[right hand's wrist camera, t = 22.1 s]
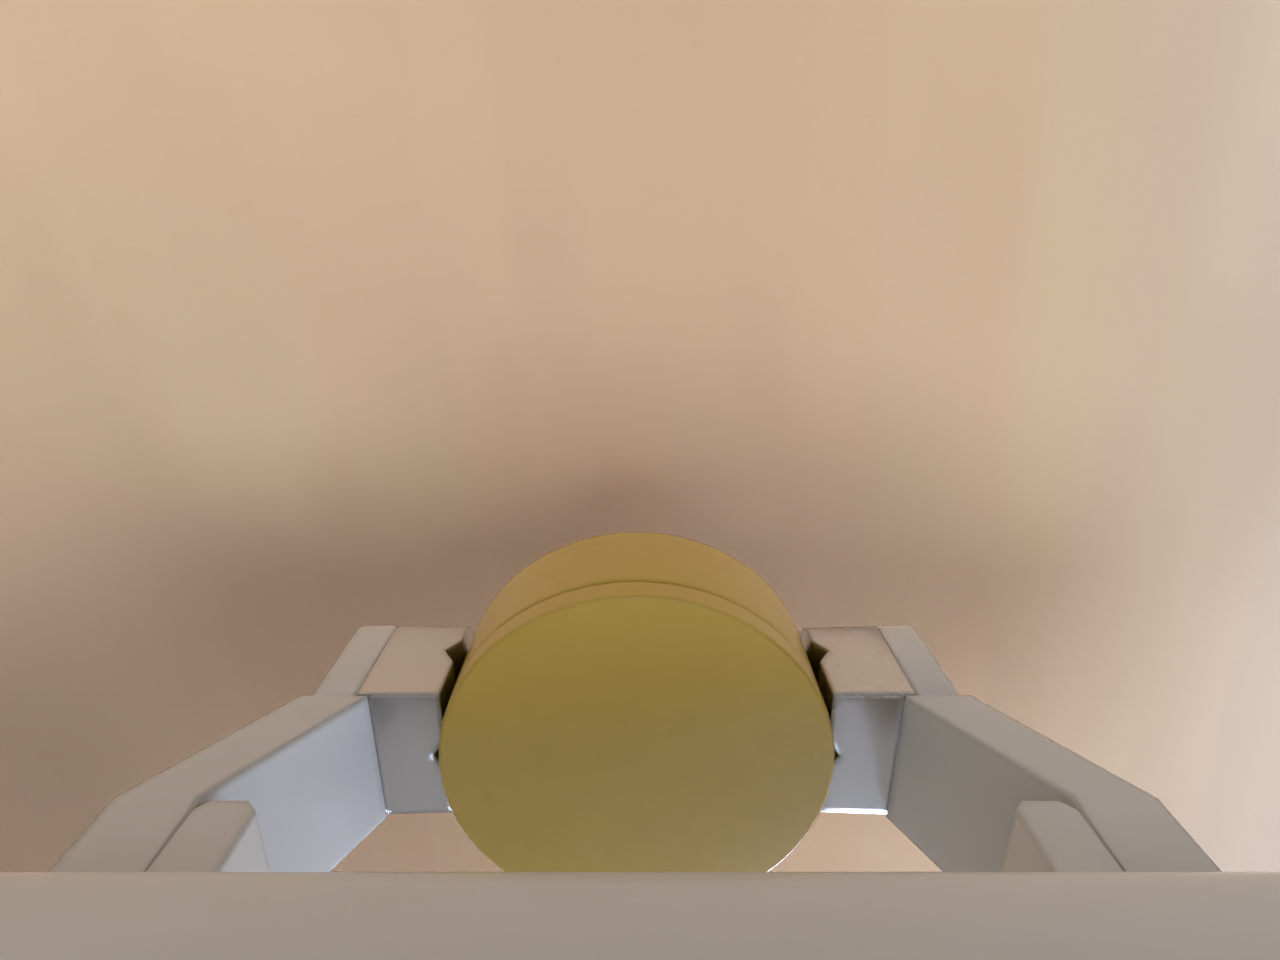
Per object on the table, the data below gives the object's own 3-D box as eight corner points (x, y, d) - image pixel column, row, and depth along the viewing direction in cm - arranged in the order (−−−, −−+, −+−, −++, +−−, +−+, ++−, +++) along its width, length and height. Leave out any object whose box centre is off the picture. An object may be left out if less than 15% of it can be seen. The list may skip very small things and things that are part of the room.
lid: (404, 700, 10) (360, 791, 9) (611, 459, 9) (604, 514, 7) (657, 858, 11) (660, 965, 10) (874, 663, 10) (919, 749, 8)
